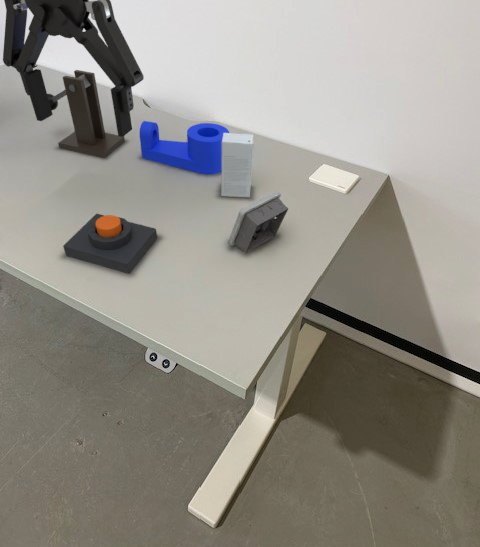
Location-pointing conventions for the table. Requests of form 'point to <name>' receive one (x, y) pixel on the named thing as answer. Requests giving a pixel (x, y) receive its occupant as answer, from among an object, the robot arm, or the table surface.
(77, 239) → the button box
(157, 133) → the bracket
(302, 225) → the table surface
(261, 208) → the electrical switch
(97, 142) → the bracket
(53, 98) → the lever
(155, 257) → the table surface
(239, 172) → the cosmetic box
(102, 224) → the button
